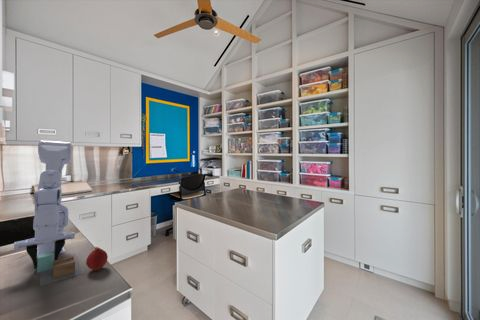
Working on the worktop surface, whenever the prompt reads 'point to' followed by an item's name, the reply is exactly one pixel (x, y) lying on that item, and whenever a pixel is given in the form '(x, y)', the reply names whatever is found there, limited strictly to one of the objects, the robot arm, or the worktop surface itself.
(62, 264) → the walnut block
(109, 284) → the worktop surface
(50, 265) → the teal block
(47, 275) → the mat
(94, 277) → the worktop surface
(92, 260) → the red round piece
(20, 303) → the worktop surface
